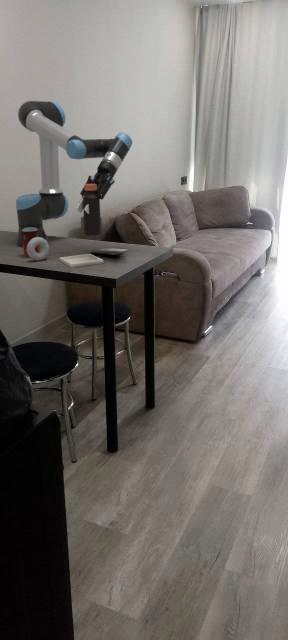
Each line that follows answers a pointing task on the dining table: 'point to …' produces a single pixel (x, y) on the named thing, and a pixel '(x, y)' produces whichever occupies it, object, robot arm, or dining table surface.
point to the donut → (33, 244)
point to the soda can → (29, 238)
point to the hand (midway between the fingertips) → (82, 211)
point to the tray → (81, 260)
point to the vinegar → (91, 211)
